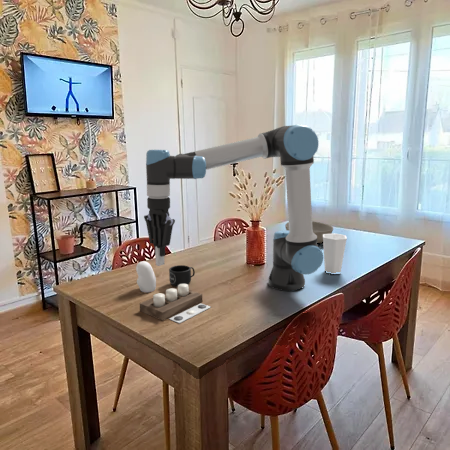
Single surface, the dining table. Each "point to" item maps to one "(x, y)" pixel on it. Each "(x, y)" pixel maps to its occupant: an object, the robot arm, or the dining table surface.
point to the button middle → (171, 295)
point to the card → (189, 313)
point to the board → (171, 305)
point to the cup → (333, 251)
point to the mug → (180, 275)
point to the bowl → (318, 230)
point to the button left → (159, 300)
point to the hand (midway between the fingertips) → (160, 264)
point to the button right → (183, 290)
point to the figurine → (145, 277)
